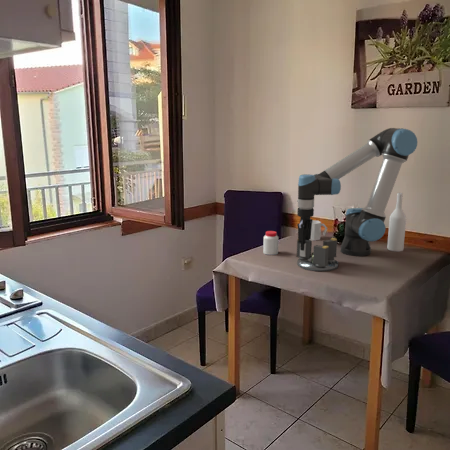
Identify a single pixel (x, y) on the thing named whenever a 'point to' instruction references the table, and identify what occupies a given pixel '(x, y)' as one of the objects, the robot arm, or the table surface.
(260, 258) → the table surface
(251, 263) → the table surface
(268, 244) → the pill bottle
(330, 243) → the knob
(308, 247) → the knob
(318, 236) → the mug
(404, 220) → the bottle
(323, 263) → the leg
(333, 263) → the plate
